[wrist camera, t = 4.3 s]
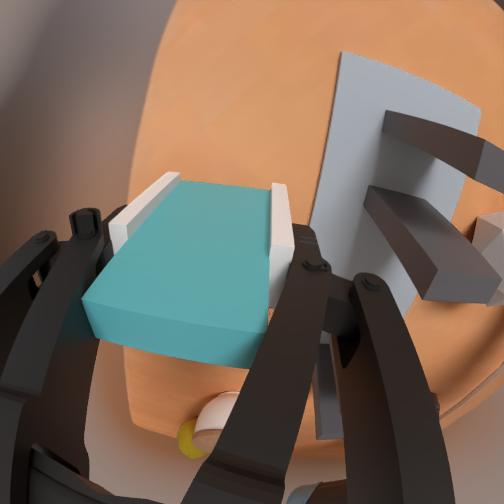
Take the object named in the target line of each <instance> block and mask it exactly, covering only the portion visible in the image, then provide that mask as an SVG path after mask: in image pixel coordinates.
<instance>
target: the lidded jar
mask: <svg viewBox="0 0 504 504" xmlns="http://www.w3.org/2000/svg"><path fill="white" fill-rule="evenodd" d="M239 393H240V391H228V392H223V393H221V394H219V395H218V396H217V397H216V398H214V399H212V400H211V401H209V402H208V403H207V404H206V405H205V406H204V408H203V409H202V410H201V412H200V414H199V416H198V419H197V422H196V426H195V430H194V434H193V436H192V441H191V442H192V444H193V445H194V446H195V447H196V448H198V449H199V450H201V451H204V452H206V453H209V454H211V453H212V451H213V449H214V447H215V445H216V443H217V440H218V438H219V436H220V434H221V432H222V430H223V428H224V426H225V424H226V421H227V419H228V417H229V415H230V413H231V411H232V408H233V406H234V404H235V402H236V400H237V397H238V395H239Z"/></svg>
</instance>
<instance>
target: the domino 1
mask: <svg viewBox="0 0 504 504" xmlns="http://www.w3.org/2000/svg"><path fill="white" fill-rule="evenodd" d="M312 384H313V397H314V411H315V427H316V440H329V439H344V436H343V425H342V415H339V406H338V399H337V391H336V384H335V377H334V370H333V363H332V357H331V350H330V344H319V349H318V354H317V358H316V363H315V368H314V372H313V377H312Z"/></svg>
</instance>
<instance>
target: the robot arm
mask: <svg viewBox="0 0 504 504" xmlns="http://www.w3.org/2000/svg"><path fill="white" fill-rule="evenodd" d="M180 174H181V173H179V172H167V173H165V174H164V175H163V176H162V177H161V178H159V179H158V180H157V181H156V182H154V183H153V184H152V185H151V186H150V187H148V188H147V189H146V190H145V191H144V192H143V193H141V194H140V195H139V196H138V197H137V198H136V199H135V200H133V201H132V202H131V203H130V204H129V205H123V206H121V207H119V208H117V209H116V210H115V211H113V212H112V213H111V214H110V215H109V216H108V217H107V218H106V219H104V220H103V221H101V213H100V211H99V209H96V208H83V209H80V210H77V211H75V212H73V213H71V214H70V215H69V219H70V224H71V229H72V234H73V236H72V237H71V238H70V240H69V241H59V242H58V240H57V236H56V233H55V232H53V231H41V232H40V233H38V234H36V235H34V236H33V237H31V238H30V239H29V240H28V241H27V242H26V243H25V244H24V245H23V246H21V247H20V248H19V249H18V250H17V251H16V252H15V253H14V254H13V255H12V256H10V257H9V258H8V259H7V260H6V261H5V262H4V263H3V264H2V265H1V266H0V504H163V503H158V502H155V501H151V500H148V499H140V498H129V497H120V496H115V495H113V494H112V493H110V492H109V491H107V490H106V489H104V488H103V487H101V486H99V485H98V484H96V483H94V482H92V481H90V480H89V457H88V453H87V451H86V448H85V444H84V431H85V422H86V414H87V406H88V399H89V393H90V386H91V381H92V375H93V370H94V365H95V360H96V355H97V350H98V346H99V341H100V339H99V338H96V337H95V335H94V333H93V330H92V327H91V325H90V322H89V320H88V317H87V314H86V311H85V309H84V306H83V303H82V300H81V298H82V297H83V296H84V294H85V293H86V292H87V290H88V289H89V288H90V286H91V285H92V284H93V282H94V281H95V280H96V278H97V277H98V276H99V274H100V273H101V272H102V270H103V269H104V268H105V267H106V265H107V264H108V263H109V262H110V260H111V259H112V258H113V257H114V255H115V254H116V253H117V252H118V250H119V249H120V248H121V247H122V246H123V244H124V243H125V242H126V241H127V240H128V239H129V238H130V237H131V236H132V235H133V233H134V232H135V231H136V230H137V229H138V228H139V226H140V225H141V224H142V223H143V222H144V221H145V220H146V219H147V217H148V216H149V215H150V214H151V213H152V212H153V211H154V210H155V208H156V207H157V206H158V205H159V204H160V203H161V202H162V201H163V200H164V199H165V198H166V197H167V196H168V194H169V193H170V192H171V191H172V190H173V189H174V188H175V187H176V186H177V185H178V184H179V183H180ZM269 259H270V268H269V303H268V308H274V309H275V310H274V313H273V315H272V318H271V320H270V323H269V325H268V328H267V330H266V332H265V335H264V337H263V340H262V342H261V344H260V347H259V349H258V352H257V354H256V356H255V359H254V361H253V363H252V366H251V368H250V370H249V373H248V375H247V377H246V379H245V382H244V384H243V386H242V388H241V391H240V393H239V395H238V397H237V400H236V402H235V404H234V406H233V408H232V411H231V413H230V415H229V417H228V419H227V421H226V424H225V426H224V428H223V430H222V432H221V434H220V436H219V438H218V440H217V443H216V445H215V447H214V449H213V451H212V453H211V454H210V456H209V457H208V458H207V459H206V461H204V463H203V464H202V466H201V467H200V469H199V470H198V472H197V474H196V476H195V478H194V479H193V482H192V483H191V485H190V487H189V489H188V491H187V493H186V495H185V496H184V498H183V500H182V502H181V504H281V502H282V499H283V495H284V490H285V482H284V480H285V474H286V471H287V468H288V465H289V462H290V458H291V455H292V452H293V449H294V445H295V442H296V439H297V435H298V432H299V428H300V424H301V421H302V417H303V413H304V409H305V406H306V402H307V398H308V394H309V389H310V385H311V381H312V377H313V372H314V368H315V363H316V358H317V354H318V349H319V344H320V339H321V334H322V331H324V332H327V333H330V334H331V340H332V346H333V353H334V360H335V367H336V374H337V381H338V389H339V398H340V406H341V415H342V425H343V436H344V448H345V461H346V477H347V479H343V480H337V481H330V482H318V483H316V484H310V485H303V486H299V487H297V488H296V489H294V490H293V491H292V492H291V494H290V496H289V497H288V499H287V502H286V504H455V497H454V490H453V484H452V478H451V472H450V466H449V461H448V456H447V452H446V447H445V443H444V439H443V435H442V431H441V427H440V423H439V411H440V404H439V401H438V398H437V396H436V395H435V394H433V393H431V392H430V389H429V386H428V383H427V380H426V377H425V374H424V371H423V369H422V366H421V363H420V360H419V357H418V355H417V352H416V349H415V347H414V344H413V342H412V339H411V337H410V334H409V332H408V329H407V327H406V324H405V322H404V320H403V317H402V315H401V313H400V310H399V308H398V306H397V304H396V301H395V299H394V297H393V295H392V293H391V290H390V288H389V286H388V285H387V283H386V282H385V281H384V280H383V279H382V278H380V277H379V276H377V275H375V274H372V273H367V272H361V273H358V274H356V275H355V276H354V278H353V281H351V280H348V279H345V278H342V277H339V276H337V275H335V274H333V273H332V268H331V265H330V264H329V263H328V262H327V261H326V260H324V259H323V258H322V256H321V252H320V248H319V245H318V241H317V237H316V234H315V231H314V230H313V229H312V228H311V227H310V226H307V225H300V224H293V223H292V222H291V215H290V208H289V201H288V194H287V187H286V185H285V184H278V183H272V186H271V193H270V235H269ZM36 271H37V273H38V275H39V278H40V281H41V285H40V286H39V287H37V286H36V284H35V281H34V279H33V275H34V273H35V272H36Z"/></svg>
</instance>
